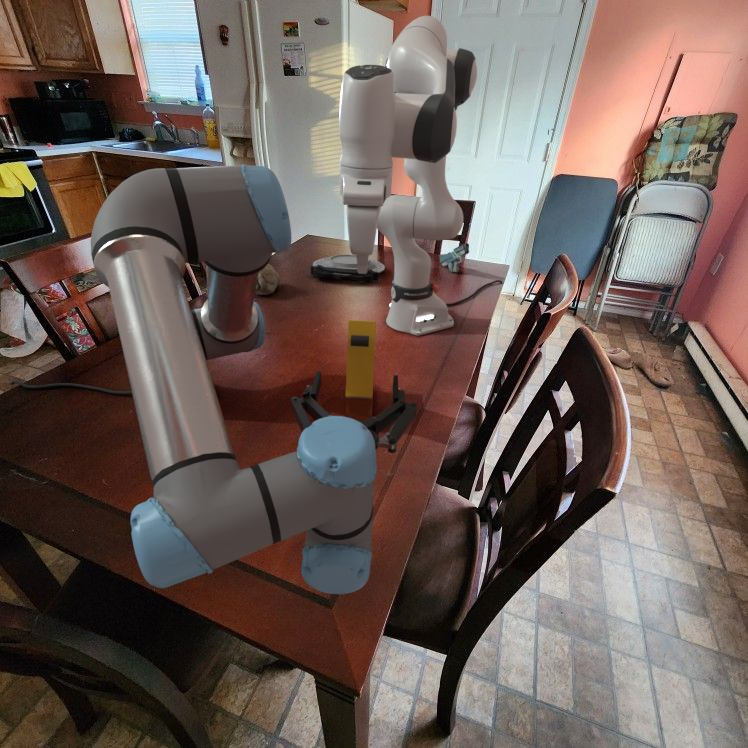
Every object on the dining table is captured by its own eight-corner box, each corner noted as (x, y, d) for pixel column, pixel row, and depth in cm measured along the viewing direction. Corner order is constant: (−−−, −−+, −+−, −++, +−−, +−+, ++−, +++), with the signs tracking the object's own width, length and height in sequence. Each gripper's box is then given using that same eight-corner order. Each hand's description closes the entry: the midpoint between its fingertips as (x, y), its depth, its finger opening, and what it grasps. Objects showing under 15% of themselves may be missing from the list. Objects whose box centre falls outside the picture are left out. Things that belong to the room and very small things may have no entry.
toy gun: (467, 266, 164) (462, 241, 163) (442, 277, 182) (438, 255, 181) (474, 265, 165) (470, 240, 164) (449, 276, 183) (445, 254, 182)
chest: (350, 390, 105) (351, 359, 100) (373, 391, 105) (374, 360, 100) (345, 430, 93) (345, 397, 87) (370, 431, 93) (372, 398, 87)
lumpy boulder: (291, 289, 158) (274, 291, 144) (265, 297, 161) (246, 299, 146) (282, 260, 156) (264, 259, 141) (256, 268, 159) (236, 268, 144)
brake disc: (371, 289, 156) (371, 277, 153) (298, 278, 162) (298, 266, 160) (392, 263, 182) (392, 252, 179) (328, 254, 188) (328, 243, 185)
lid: (348, 320, 85) (345, 321, 76) (376, 321, 85) (375, 323, 76) (345, 395, 88) (342, 405, 79) (372, 396, 88) (371, 406, 79)
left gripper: (258, 484, 58) (288, 392, 75) (435, 493, 58) (424, 399, 75) (251, 446, 54) (285, 358, 71) (442, 455, 54) (429, 365, 71)
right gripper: (351, 172, 78) (351, 245, 86) (341, 195, 62) (342, 283, 70) (384, 174, 78) (381, 246, 86) (383, 197, 62) (379, 284, 70)
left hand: (357, 379), depth 73 cm, fingers open, 13 cm apart
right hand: (363, 263), depth 78 cm, fingers open, 8 cm apart
